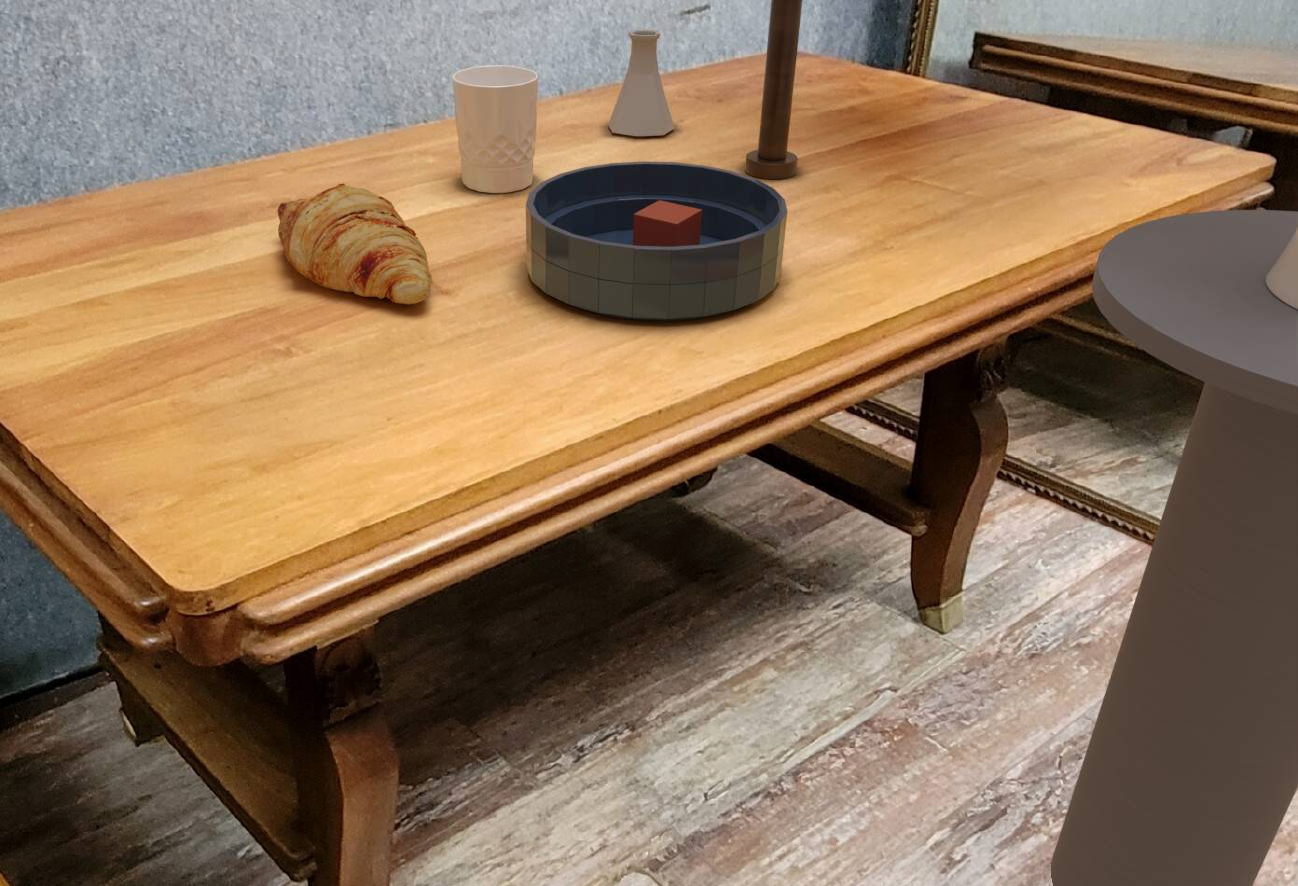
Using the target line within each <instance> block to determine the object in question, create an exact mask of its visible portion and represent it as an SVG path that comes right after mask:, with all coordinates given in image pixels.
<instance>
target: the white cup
mask: <svg viewBox="0 0 1298 886" xmlns="http://www.w3.org/2000/svg"><path fill="white" fill-rule="evenodd" d="M451 79H452V90H453V101H454V102H453V103H454V115H455V125H456V127H455V128H456V134H457V144H458V151H459V154H460V166H461V179H462V184H463V185H464V186H465V187H467V189H470V190H473V191H476V192H480V193H487V194H488V193H489V194H504V193H512V192H513V193H514V192H517V191H522V190H524V189H526V188H528V187H530V186H531V185H532V183H533V180H534V157H535V155H536V142H537V141H536V139H537V121H538V119H537V118H538V91H539V88H538V87H539V74H538V72H536V71H534V70H532V69H529V68H526V67H522V66H515V65H505V64H503V65H502V64H491V65H487V64H486V65H478V66H471V67H466V68H462V69H460V70H457V71H456V72H454V73H453V74H452V77H451Z"/></svg>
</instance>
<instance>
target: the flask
mask: <svg viewBox="0 0 1298 886" xmlns="http://www.w3.org/2000/svg"><path fill="white" fill-rule="evenodd" d="M628 35H629V39H631V47H630V57H629V62H628V67H627V71H626V74H625V77H624V80H623V83H622V84H621V85H622V86H621V88H620V91H619V94H618V97H617V100H616V103H615V104H614V107H613V110H612V112H611V115H610V118H609V121H608V124H607V126H608V127H609V129H610V131H611V133H613V134H619V135H625V136H632V137H648V136H649V137H652V136H654V137H655V136H664V135H666V134H668V133H669V132H671V131H672V130H674V129H675V124H674V121H673V117H672V115H671V111H670V108H669V104H668V100H667V98H666V93H665V90H664V86H663V83H662V79H661V75H660V72H659V64H658V62H659V61H658V55H657V49H658V48H657V46H658V44H657V43H658V40H659V39H660V37H661V32H660V31H659V30H657V29H648V28H641V29H640V28H639V29H633V30H631V31H629V32H628Z"/></svg>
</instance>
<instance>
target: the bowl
mask: <svg viewBox="0 0 1298 886" xmlns="http://www.w3.org/2000/svg"><path fill="white" fill-rule="evenodd" d="M659 200H661V201H665V202H670V203H674V204H679V205H683V206H688V207H692V208H697V209H701V210H702V216H701V231H700V245H691V246H676V247H660V246H634V245H633V223H634V214H635V213H637V212H638V211H640V210H642V209H644V208H646V207H648V206H650V205H651V204H653V203H655V202H657V201H659ZM787 218H788V207H787V203H786V198H784V197H783V196H782V195H781V194H780V193H779V192H778V191H777V190H776V189H775V188H774V187H772V186H770V185H768V184H766V183H765V182H763V181H760V180H759V179H757V178H755V177H752V176H748V175H745V174H742V173H740V172H739V173H738V172H736V171H733V170H729V169H724V168H719V167H713V166H709V165H704V164H695V163H694V164H693V163H684V162H676V161H674V162H673V161H645V160H644V161H642V160H641V161H628V162H627V161H624V162H609V163H603V164H597V165H591V166H584V167H580V168H577V169H573V170H568V171H565V172H562V173H558V174H556V175H554V176H552V177H550V178H548V179H545V180H543V181H541V182H540V183H538V184H537V185H536V186H535V187H534V188H533V189H531V191H529V193H528V196H527V198H526V202H525V246H526V247H525V249H526V251H525V253H526V258H525V259H526V271H527V274H528V275H529V277H530V280H531V282H532V283H533V284H534V285H535V286H537V287H538V288H539V289H540V290H541V291H542V292H543V293H544V294H547V295H548V296H551V297H553V298H555V299H556V300H559V301H560V302H563V303H565V304H567V305H570V306H573V307H575V308H577V309H580V310H584V311H586V312H590V313H595V314H598V315H602V316H607V317H612V318H618V319H626V320H635V321H651V322H653V321H654V322H655V321H658V322H659V321H663V322H668V321H685V320H694V319H701V318H707V317H712V316H717V315H721V314H725V313H728V312H732V311H735V310H738V309H740V308H743V307H745V306H748V305H751V304H754V303H757V302H758V301H760V300H761V299H763V298H764V297H766V296H767V295H768V294H769V293H771V292H773V291H774V290H775V288H776V286H777V284H778V282H779V281H780V278H781V276H782V268H783V267H782V266H783V256H784V249H785V248H784V247H785V240H786V239H785V237H786V229H787V220H788V219H787Z"/></svg>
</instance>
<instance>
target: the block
mask: <svg viewBox="0 0 1298 886" xmlns="http://www.w3.org/2000/svg"><path fill="white" fill-rule="evenodd" d="M701 216H702V210H701V209H697V208H692V207H688V206H683V205H679V204H674V203H670V202H665V201H661V200H659V201H657V202H655V203H653V204H651V205H650V206H648V207H646V208H644V209H642V210H640V211H638V212H637V213H635V214H634V223H633V245H634V246H660V247H676V246H691V245H700V231H701Z"/></svg>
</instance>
